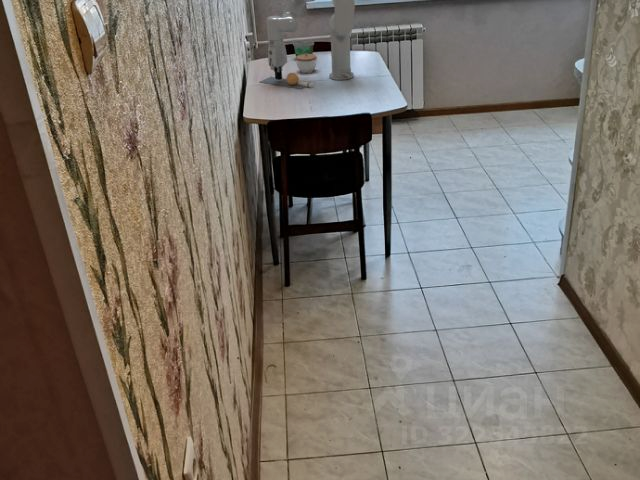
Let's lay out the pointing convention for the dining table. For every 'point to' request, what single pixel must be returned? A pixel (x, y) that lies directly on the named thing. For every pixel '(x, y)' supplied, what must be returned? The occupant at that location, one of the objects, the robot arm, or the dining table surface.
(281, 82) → the grey flat board
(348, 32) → the robot arm
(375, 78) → the dining table surface
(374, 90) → the dining table surface
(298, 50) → the food container
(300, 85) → the pin
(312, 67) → the lidded jar
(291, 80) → the ball
